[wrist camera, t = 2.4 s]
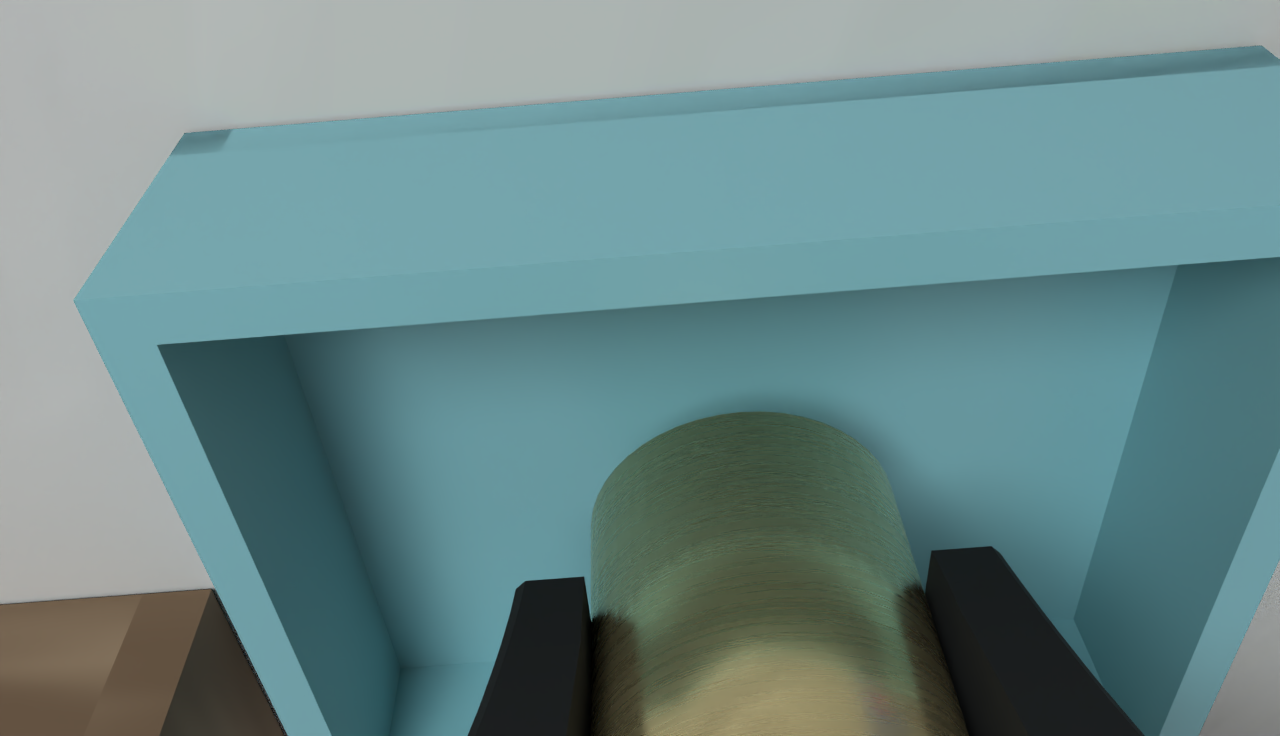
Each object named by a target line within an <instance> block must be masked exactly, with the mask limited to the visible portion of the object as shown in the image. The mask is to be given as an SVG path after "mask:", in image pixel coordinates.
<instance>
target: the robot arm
mask: <svg viewBox="0 0 1280 736" xmlns="http://www.w3.org/2000/svg"><path fill="white" fill-rule="evenodd" d="M925 596H926V599H927V603H928V606H929V609H930V612H931V615H932V619H933V622H934V625H935V628H936V631H937V634H938V638H939V641H940V644H941V647H942V650H943V654H944V657H945V660H946V663H947V666H948V670H949V673H950V676H951V679H952V682H953V686H954V689H955V692H956V695H957V698H958V701H959V705H960V708H961V711H962V714H963V717H964V721H965V724H966V727H967V730H968V733H969V736H1145V735H1144V734H1143V733H1142V732H1141V731H1140V729H1139V728H1138V727H1137V726H1136V725H1135V724H1134V722H1133V721H1132V720H1131V719H1130V718H1129V717H1128V715H1127V714H1126V713H1125V712H1124V711H1123V710H1122V708H1121V707H1120V706H1119V705H1118V704H1117V703H1116V701H1115V700H1114V699H1113V698H1112V697H1111V696H1110V694H1109V693H1108V692H1107V691H1106V690H1105V689H1104V687H1103V686H1102V685H1101V684H1100V682H1099V681H1098V680H1097V679H1096V678H1095V676H1094V675H1093V674H1092V673H1091V671H1090V670H1089V669H1088V668H1087V667H1086V665H1085V664H1084V663H1083V662H1082V660H1081V659H1080V658H1079V657H1078V655H1077V654H1076V653H1075V651H1074V650H1073V649H1072V648H1071V646H1070V645H1069V644H1068V643H1067V641H1066V640H1065V639H1064V638H1063V636H1062V635H1061V634H1060V633H1059V631H1058V630H1057V629H1056V627H1055V626H1054V625H1053V624H1052V622H1051V621H1050V620H1049V618H1048V617H1047V616H1046V614H1045V613H1044V612H1043V610H1042V609H1041V608H1040V607H1039V605H1038V604H1037V603H1036V601H1035V600H1034V599H1033V597H1032V596H1031V595H1030V593H1029V592H1028V591H1027V589H1026V588H1025V586H1024V585H1023V584H1022V582H1021V581H1020V580H1019V578H1018V577H1017V576H1016V574H1015V573H1014V571H1013V570H1012V569H1011V567H1010V566H1009V565H1008V563H1007V562H1006V560H1005V559H1004V558H1003V556H1002V555H1001V553H999V552H998V551H997V550H996V549H994V548H993V547H992V546H986V547H972V548H959V549H945V550H932V551H931V556H930V563H929V569H928V576H927V583H926V589H925ZM468 736H591V617H590V610H589V604H588V598H587V591H586V585H585V578H584V576H583V577H570V578H557V579H543V580H530V581H525V582H523V583H522V584H521V585H520V586H519V587H518V588H516V590H515V594H514V599H513V603H512V607H511V611H510V615H509V619H508V622H507V626H506V629H505V632H504V636H503V639H502V642H501V646H500V649H499V652H498V655H497V658H496V661H495V664H494V667H493V670H492V673H491V675H490V678H489V681H488V684H487V686H486V689H485V692H484V695H483V698H482V700H481V703H480V706H479V708H478V711H477V714H476V716H475V718H474V721H473V723H472V726H471V728H470V731H469V733H468Z"/></svg>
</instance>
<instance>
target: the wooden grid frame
mask: <svg viewBox="0 0 1280 736" xmlns="http://www.w3.org/2000/svg"><path fill="white" fill-rule="evenodd" d="M0 736H284V734H283V732H282V730H281V728H280V726H279V724H278V722H277V720H276V718H275V716H274V714H273V712H272V710H271V708H270V706H269V704H268V702H267V700H266V698H265V696H264V694H263V692H262V690H261V688H260V686H259V684H258V682H257V680H256V678H255V676H254V674H253V672H252V670H251V668H250V666H249V664H248V662H247V660H246V658H245V656H244V654H243V652H242V650H241V648H240V646H239V644H238V642H237V640H236V638H235V636H234V634H233V632H232V630H231V628H230V626H229V624H228V622H227V620H226V618H225V616H224V614H223V612H222V610H221V608H220V606H219V604H218V602H217V600H216V598H215V596H214V594H213V592H212V590H211V589H207V590H193V591H180V592H167V593H153V594H140V595H126V596H113V597H100V598H86V599H73V600H60V601H46V602H33V603H20V604H6V605H0Z"/></svg>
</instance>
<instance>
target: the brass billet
mask: <svg viewBox="0 0 1280 736" xmlns="http://www.w3.org/2000/svg"><path fill="white" fill-rule="evenodd" d="M591 736H969V733H968V730H967V727H966V724H965V721H964V717H963V714H962V711H961V708H960V705H959V701H958V698H957V695H956V692H955V689H954V686H953V682H952V679H951V676H950V673H949V670H948V666H947V663H946V660H945V657H944V654H943V650H942V647H941V644H940V641H939V638H938V634H937V631H936V628H935V625H934V622H933V619H932V615H931V612H930V609H929V606H928V603H927V599H926V596H925V593H924V590H923V587H922V583H921V580H920V577H919V574H918V571H917V568H916V564H915V561H914V558H913V555H912V552H911V548H910V545H909V542H908V539H907V536H906V532H905V529H904V526H903V523H902V520H901V517H900V513H899V510H898V507H897V504H896V501H895V497H894V494H893V491H892V488H891V485H890V483H889V480H888V477H887V475H886V473H885V471H884V470H883V468H882V466H881V465H880V463H879V461H878V460H877V459H876V458H875V457H874V456H873V455H872V454H871V452H870V451H869V450H868V449H867V448H865V447H864V446H863V445H862V444H861V443H859V442H858V441H857V440H856V439H854V438H853V437H851V436H849V435H848V434H846V433H844V432H843V431H841V430H839V429H837V428H834V427H832V426H830V425H828V424H825V423H823V422H820V421H816V420H813V419H810V418H806V417H803V416H797V415H792V414H786V413H776V412H763V411H760V412H737V413H729V414H721V415H716V416H711V417H707V418H703V419H698V420H695V421H692V422H689V423H686V424H683V425H680V426H677V427H675V428H673V429H671V430H669V431H666V432H664V433H662V434H660V435H658V436H656V437H655V438H653V439H651V440H650V441H648V442H646V443H645V444H643V445H641V446H640V447H639V448H638V449H636V450H635V451H634V452H632V453H631V454H630V455H628V456H627V457H626V458H625V459H624V460H623V461H622V462H621V463H620V464H619V465H618V466H617V467H616V468H615V469H614V471H613V472H612V473H611V475H610V476H609V477H608V479H607V480H606V481H605V483H604V485H603V486H602V488H601V490H600V492H599V494H598V496H597V499H596V502H595V505H594V508H593V512H592V519H591Z"/></svg>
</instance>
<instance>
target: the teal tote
mask: <svg viewBox="0 0 1280 736" xmlns="http://www.w3.org/2000/svg"><path fill="white" fill-rule="evenodd" d="M73 301H74V303H75V305H76V307H77V309H78V311H79V313H80V315H81V317H82V319H83V321H84V323H85V325H86V327H87V329H88V331H89V333H90V335H91V337H92V339H93V341H94V343H95V346H96V348H97V350H98V352H99V354H100V356H101V358H102V360H103V362H104V364H105V366H106V368H107V370H108V372H109V374H110V376H111V378H112V380H113V382H114V384H115V386H116V388H117V390H118V392H119V394H120V396H121V398H122V400H123V402H124V404H125V406H126V408H127V410H128V412H129V414H130V416H131V419H132V421H133V423H134V425H135V427H136V429H137V431H138V433H139V435H140V437H141V439H142V441H143V443H144V445H145V447H146V449H147V451H148V453H149V455H150V457H151V459H152V461H153V463H154V465H155V467H156V469H157V471H158V473H159V475H160V477H161V479H162V481H163V483H164V485H165V487H166V490H167V492H168V494H169V496H170V498H171V500H172V502H173V504H174V506H175V508H176V510H177V512H178V514H179V516H180V518H181V520H182V522H183V524H184V526H185V528H186V530H187V532H188V534H189V536H190V538H191V540H192V542H193V544H194V546H195V548H196V550H197V552H198V554H199V556H200V558H201V560H202V563H203V565H204V567H205V569H206V571H207V573H208V575H209V577H210V579H211V581H212V583H213V585H214V587H215V589H216V591H217V593H218V595H219V597H220V599H221V601H222V603H223V605H224V607H225V609H226V611H227V613H228V615H229V617H230V619H231V621H232V623H233V625H234V627H235V629H236V631H237V633H238V636H239V638H240V640H241V642H242V644H243V646H244V648H245V650H246V652H247V654H248V656H249V658H250V660H251V662H252V664H253V666H254V668H255V670H256V672H257V674H258V676H259V678H260V680H261V682H262V684H263V686H264V688H265V690H266V692H267V694H268V696H269V698H270V700H271V702H272V704H273V707H274V709H275V711H276V713H277V715H278V717H279V719H280V721H281V723H282V725H283V727H284V729H285V731H286V733H287V735H288V736H468V733H469V731H470V728H471V726H472V723H473V721H474V718H475V716H476V714H477V711H478V708H479V706H480V703H481V700H482V698H483V695H484V692H485V689H486V686H487V684H488V681H489V678H490V675H491V673H492V670H493V667H494V664H495V661H496V658H497V655H498V652H499V649H500V646H501V642H502V639H503V636H504V632H505V629H506V626H507V622H508V619H509V615H510V611H511V607H512V603H513V599H514V594H515V590H516V588H518V587H519V586H520V585H521V584H522V583H523V582H525V581H530V580H543V579H557V578H570V577H583V576H584V578H585V585H586V591H587V598H588V604H589V610H590V617H591V519H592V512H593V508H594V505H595V502H596V499H597V496H598V494H599V492H600V490H601V488H602V486H603V485H604V483H605V481H606V480H607V479H608V477H609V476H610V475H611V473H612V472H613V471H614V469H615V468H616V467H617V466H618V465H619V464H620V463H621V462H622V461H623V460H624V459H625V458H626V457H627V456H628V455H630V454H631V453H632V452H634V451H635V450H636V449H638V448H639V447H640V446H641V445H643V444H645V443H646V442H648V441H650V440H651V439H653V438H655V437H656V436H658V435H660V434H662V433H664V432H666V431H669V430H671V429H673V428H675V427H677V426H680V425H683V424H686V423H689V422H692V421H695V420H698V419H703V418H707V417H711V416H716V415H721V414H729V413H737V412H760V411H763V412H776V413H786V414H792V415H797V416H803V417H806V418H810V419H813V420H816V421H820V422H823V423H825V424H828V425H830V426H832V427H834V428H837V429H839V430H841V431H843V432H844V433H846V434H848V435H849V436H851V437H853V438H854V439H856V440H857V441H858V442H859V443H861V444H862V445H863V446H864V447H865V448H867V449H868V450H869V451H870V452H871V454H872V455H873V456H874V457H875V458H876V459H877V460H878V461H879V463H880V465H881V466H882V468H883V470H884V471H885V473H886V475H887V477H888V480H889V483H890V485H891V488H892V491H893V494H894V497H895V501H896V504H897V507H898V510H899V513H900V517H901V520H902V523H903V526H904V529H905V532H906V536H907V539H908V542H909V545H910V548H911V552H912V555H913V558H914V561H915V564H916V568H917V571H918V574H919V577H920V580H921V583H922V587H923V590H924V593H925V589H926V583H927V576H928V569H929V563H930V556H931V551H932V550H945V549H959V548H972V547H986V546H992V547H993V548H994V549H996V550H997V551H998V552H999V553H1001V555H1002V556H1003V558H1004V559H1005V560H1006V562H1007V563H1008V565H1009V566H1010V567H1011V569H1012V570H1013V571H1014V573H1015V574H1016V576H1017V577H1018V578H1019V580H1020V581H1021V582H1022V584H1023V585H1024V586H1025V588H1026V589H1027V591H1028V592H1029V593H1030V595H1031V596H1032V597H1033V599H1034V600H1035V601H1036V603H1037V604H1038V605H1039V607H1040V608H1041V609H1042V610H1043V612H1044V613H1045V614H1046V616H1047V617H1048V618H1049V620H1050V621H1051V622H1052V624H1053V625H1054V626H1055V627H1056V629H1057V630H1058V631H1059V633H1060V634H1061V635H1062V636H1063V638H1064V639H1065V640H1066V641H1067V643H1068V644H1069V645H1070V646H1071V648H1072V649H1073V650H1074V651H1075V653H1076V654H1077V655H1078V657H1079V658H1080V659H1081V660H1082V662H1083V663H1084V664H1085V665H1086V667H1087V668H1088V669H1089V670H1090V671H1091V673H1092V674H1093V675H1094V676H1095V678H1096V679H1097V680H1098V681H1099V682H1100V684H1101V685H1102V686H1103V687H1104V689H1105V690H1106V691H1107V692H1108V693H1109V694H1110V696H1111V697H1112V698H1113V699H1114V700H1115V701H1116V703H1117V704H1118V705H1119V706H1120V707H1121V708H1122V710H1123V711H1124V712H1125V713H1126V714H1127V715H1128V717H1129V718H1130V719H1131V720H1132V721H1133V722H1134V724H1135V725H1136V726H1137V727H1138V728H1139V729H1140V731H1141V732H1142V733H1143V734H1144V735H1145V736H1198V735H1199V733H1200V731H1201V729H1202V727H1203V725H1204V722H1205V720H1206V718H1207V716H1208V714H1209V712H1210V709H1211V707H1212V705H1213V703H1214V701H1215V699H1216V696H1217V694H1218V692H1219V690H1220V688H1221V685H1222V683H1223V681H1224V679H1225V677H1226V675H1227V672H1228V670H1229V668H1230V666H1231V664H1232V662H1233V659H1234V657H1235V655H1236V653H1237V651H1238V649H1239V646H1240V644H1241V642H1242V640H1243V638H1244V636H1245V633H1246V631H1247V629H1248V627H1249V625H1250V623H1251V620H1252V618H1253V616H1254V614H1255V612H1256V610H1257V607H1258V605H1259V603H1260V601H1261V599H1262V597H1263V594H1264V592H1265V590H1266V588H1267V586H1268V584H1269V581H1270V579H1271V577H1272V575H1273V573H1274V571H1275V568H1276V566H1277V564H1278V562H1279V560H1280V60H1279V59H1278V58H1277V57H1276V56H1274V55H1273V54H1272V53H1270V52H1269V51H1268V50H1267V49H1265V48H1264V47H1263V46H1250V47H1238V48H1225V49H1213V50H1201V51H1188V52H1176V53H1164V54H1151V55H1139V56H1127V57H1115V58H1102V59H1090V60H1078V61H1065V62H1053V63H1041V64H1029V65H1016V66H1004V67H992V68H979V69H967V70H955V71H942V72H930V73H918V74H906V75H893V76H881V77H869V78H856V79H844V80H832V81H819V82H807V83H795V84H783V85H770V86H758V87H746V88H733V89H721V90H709V91H697V92H684V93H672V94H660V95H647V96H635V97H623V98H610V99H598V100H586V101H574V102H561V103H549V104H537V105H524V106H512V107H500V108H488V109H475V110H463V111H451V112H438V113H426V114H414V115H401V116H389V117H377V118H365V119H352V120H340V121H328V122H315V123H303V124H291V125H278V126H266V127H254V128H242V129H229V130H217V131H205V132H192V133H184V135H183V136H182V138H181V139H180V141H179V142H178V144H177V145H176V147H175V148H174V150H173V151H172V153H171V154H170V156H169V157H168V159H167V160H166V162H165V163H164V165H163V166H162V168H161V169H160V171H159V172H158V174H157V175H156V177H155V178H154V180H153V182H152V183H151V185H150V186H149V188H148V189H147V191H146V192H145V194H144V195H143V197H142V198H141V200H140V201H139V203H138V204H137V206H136V207H135V209H134V210H133V212H132V213H131V215H130V216H129V218H128V219H127V221H126V222H125V224H124V225H123V227H122V228H121V230H120V231H119V233H118V234H117V236H116V237H115V239H114V240H113V242H112V243H111V245H110V246H109V248H108V249H107V251H106V252H105V254H104V255H103V257H102V258H101V260H100V261H99V263H98V264H97V266H96V267H95V269H94V270H93V272H92V273H91V275H90V276H89V278H88V279H87V281H86V282H85V284H84V285H83V287H82V288H81V290H80V291H79V293H78V294H77V296H76V297H75V299H74V300H73Z"/></svg>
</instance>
